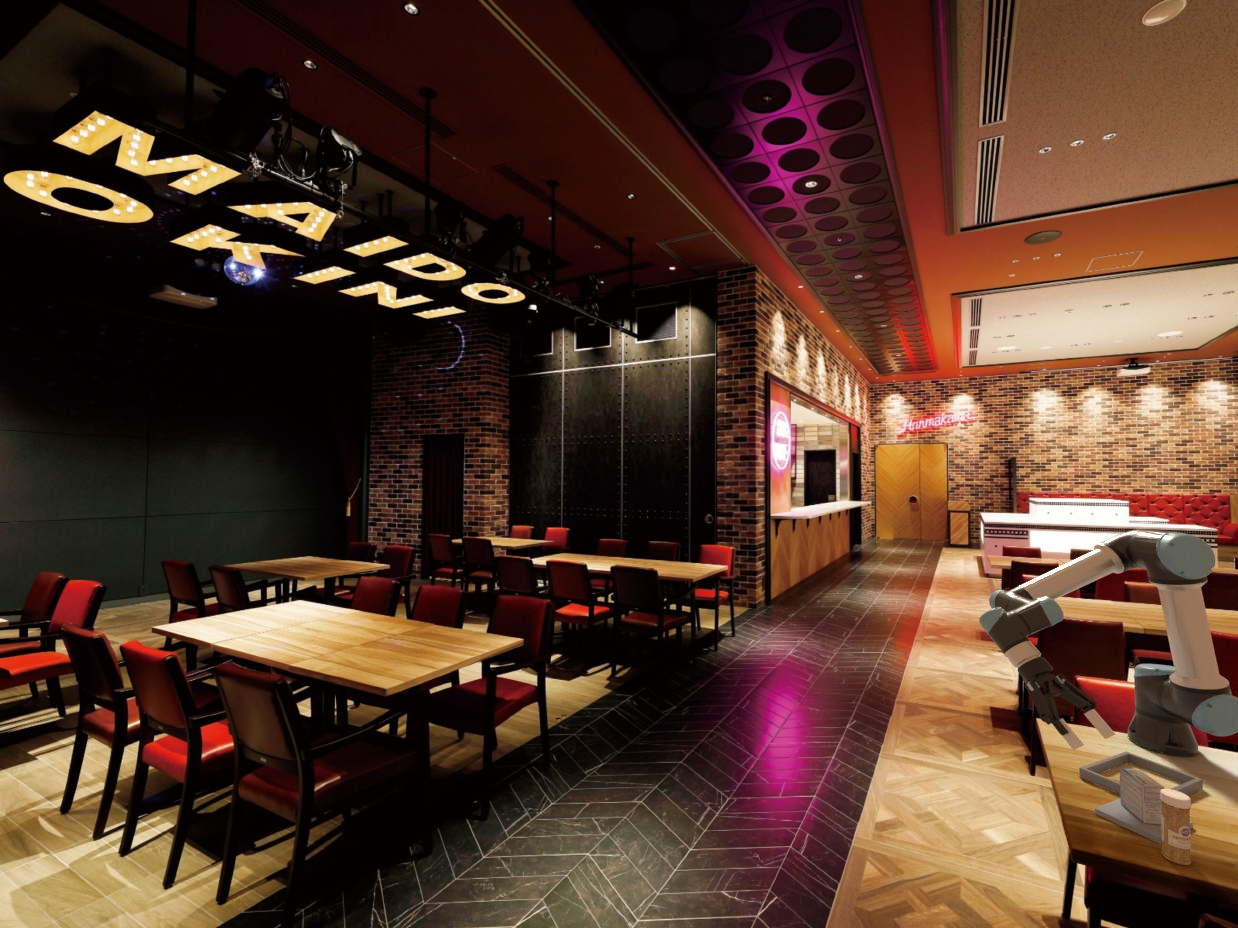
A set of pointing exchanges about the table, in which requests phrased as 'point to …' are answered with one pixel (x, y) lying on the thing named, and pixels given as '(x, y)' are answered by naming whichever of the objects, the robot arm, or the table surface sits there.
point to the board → (1130, 820)
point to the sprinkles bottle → (1175, 826)
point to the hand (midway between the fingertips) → (1095, 742)
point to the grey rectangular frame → (1093, 769)
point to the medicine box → (1141, 795)
